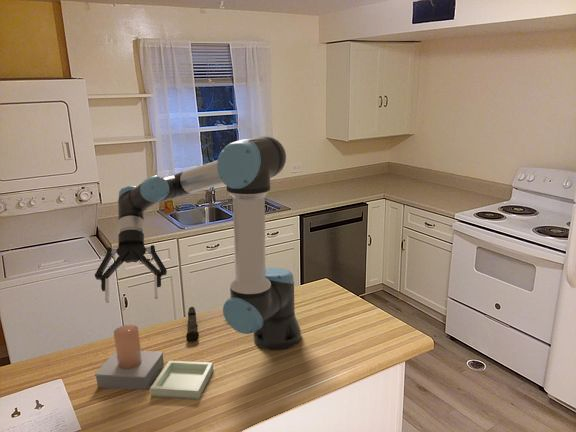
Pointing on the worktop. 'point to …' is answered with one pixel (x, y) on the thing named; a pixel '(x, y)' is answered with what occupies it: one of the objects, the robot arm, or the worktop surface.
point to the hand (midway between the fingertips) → (131, 299)
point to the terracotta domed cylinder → (128, 346)
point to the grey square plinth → (130, 372)
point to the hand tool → (192, 326)
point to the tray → (182, 380)
